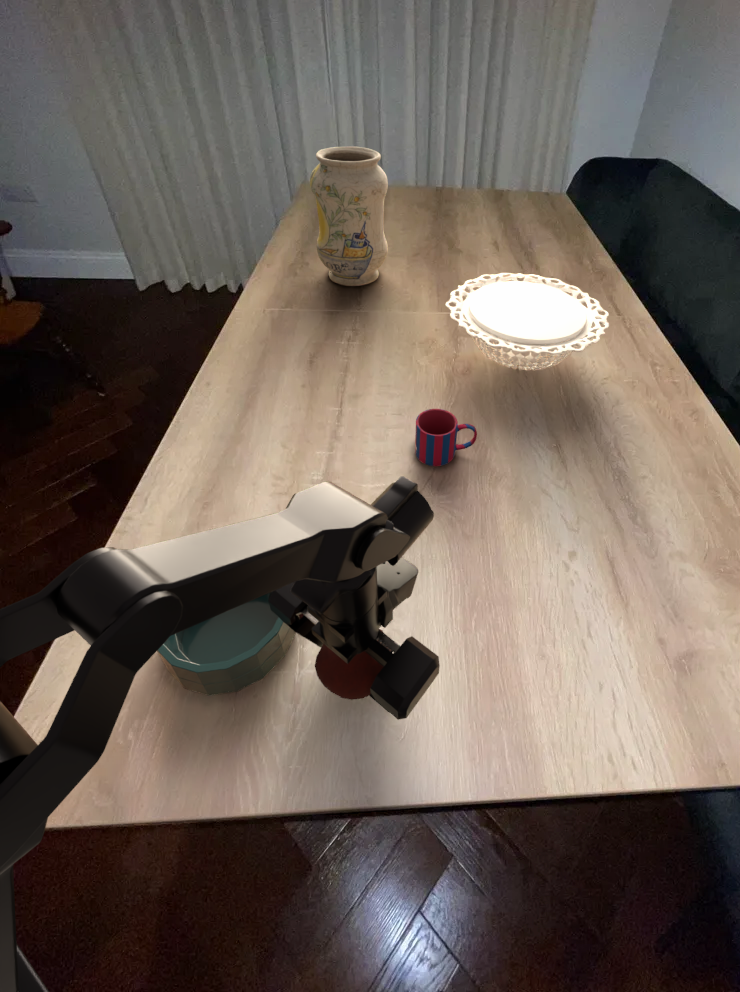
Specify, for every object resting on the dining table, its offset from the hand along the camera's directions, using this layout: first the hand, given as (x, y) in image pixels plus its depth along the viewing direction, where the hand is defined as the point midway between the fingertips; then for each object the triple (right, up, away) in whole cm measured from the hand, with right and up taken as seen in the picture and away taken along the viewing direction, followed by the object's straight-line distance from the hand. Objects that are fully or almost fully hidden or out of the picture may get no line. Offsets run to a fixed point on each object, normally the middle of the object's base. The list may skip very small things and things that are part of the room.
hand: (355, 669), depth 59 cm
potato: (0, -1, +1) cm, 2 cm away
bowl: (-15, +2, +4) cm, 16 cm away
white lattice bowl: (+25, +37, +53) cm, 69 cm away
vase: (-14, +61, +79) cm, 101 cm away
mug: (+10, +21, +30) cm, 37 cm away
